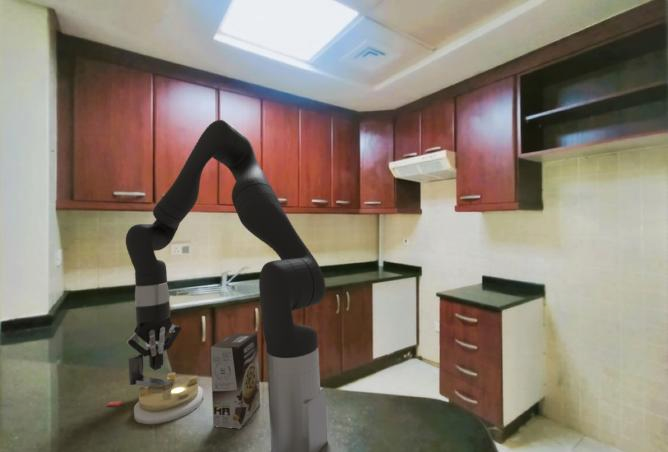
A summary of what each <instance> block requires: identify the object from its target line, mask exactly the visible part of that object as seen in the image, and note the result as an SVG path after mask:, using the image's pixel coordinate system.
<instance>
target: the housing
mask: <svg viewBox="0 0 668 452" xmlns="http://www.w3.org/2000/svg"><path fill="white" fill-rule="evenodd" d="M202 399H203V400H204V389H203V388H202V387H201V386H200V385H198V393H197V395H196V396H195V397H194V398H193V399H191V400H190V401H188V402H186V403H184V404H182V405H180V406H178V407H175V408H172V409H168V410H164V411H156V412H148V411H144V410H142V409H140V407H139V401H137V403H136V404H135V405H134V407H133V417H134V420H135V422H137V423H139V424H144V425H157V424H163V422H164V423H168V422H171V420H172V421H175V420H176V419H180V418H182V417H185V416H186V415H188V414H191V413H192V412H193V411H195V410H196V409H197V408H198V407H200V405H201V404H202V403H203V401H202ZM201 402H202V403H201ZM200 403H201V404H200ZM199 404H200V405H199ZM195 408H196V409H195ZM194 409H195V410H194ZM174 419H175V420H174ZM167 421H168V422H167Z"/></svg>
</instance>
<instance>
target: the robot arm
mask: <svg viewBox="0 0 668 452" xmlns="http://www.w3.org/2000/svg"><path fill="white" fill-rule="evenodd" d="M211 159H214V160H216V161H217V162H219V163H220V164H223V166H225V167H226V168H228V170H229V171H230V172H231V175H232V176H233V178H234V180H235V183H234V185H233V187H232V191H231V199H232V200H231V201H232V204H233V207H234V210H235V211H236V214H237V216H238V219H239V221H240V223H241V224H242V225H243V227H244V228H245V229H246V230H248V232H250V234H252V235H253V236H254V237H256V238H258V240H260V241H261V242H263V243H264V244H266V245H267V246H268V247H269V248H271V249H272V250H273V251H274V252H275V254H277V255H278V257H279V258H280V259H277V260H271V261H268V262H266V263H265V264H264V265H262V268H261V270H260V273H259V278H258V279H259V280H258V281H259V284H258V289H259V291H258V292H259V301H260V307H261V319H262V331H263V334H264V335H263V336H264V340H265V344H266V365H267V368H266V369H267V383H268V384H267V391H268V407H269V408H268V409H269V411H268V413H269V430H270V449H271V452H320V451H321V450H322V449H323V447H324V446H325V445H326V443H327V442H328V439H329V438H328V423H327V407H326V405H327V403H326V389H325V387H322V386H321V379H320V378H321V377H320V375H321V374H320V358H319V357H320V356H319V339H318V338H319V337H318V333H317V330H316V328H313V327H311V326H309V325H305V324H297V323H294V318H293V311H296V310H300V309H305V308H308V307H313V306H316V305H317V304H319V303H320V302H321V301H322V300H323V299H324V296H325V295H326V294H325V293H326V281H325V278H324V277H325V276H324V274H323V272H322V269H321V267H320V265H319V264H318V262H317V259H316V258H315V257H314V256H313V254H312V253H311V251H310V250H309V248H308V247H307V245H306V244H305V242H304V241H303V240H302V238H301V237H300V235H299V234H298V233H297V231H296V229H295V228H294V226H293V224H292V223H291V221H290V218H289V217H288V216H287V214H286V212H285V210H284V208H283V206H282V204H281V202H280V200H279V198H278V196H277V195H276V192H275V190H274V189H273V187H272V185H271V184H270V182H269V181H268V178H267V177H266V175H265V173H264V171H263V170H262V168H261V166H260V164H259V161H258V159H257V156H256V154H255V150H254V148H253V145H252V143H251V141H250V140H249V138H248V137H247V136H246V135H244V134H243V133H242V132H240V130H238V129H237V128H236V127H235V126H233V125H232V124H231V123H230V122H227V121H226V120H224V119H217V120H214V121H213V122H211V123H210V124H209V125H208V126H207V127H206V128H205V129H204V131H203V132H202V134H201V135H200V136H199V138H198V140H197V142H196V143H195V145H194V147H193V149H192V150H191V152H190V154H189V156H188V157H187V159H186V161H185V163H184V165H183V166H182V168H181V170H180V172H179V174H178V175H177V177H176V178H175V180H174V181H173V183H172V185H171V186H170V187H169V189H168V190H167V191H166V192H165V193H164V195H163V196H162V197H161V199H160V200H159V201H158V202H157V204H156V205H155V206H154V207H153V211H152V214H153V217H154V219H155V220H154V221H153V223H150V224H149V223H143V224H142V223H137V224H134V225H132V226H131V227H130V228H129V229H128V230H127V232H126V236H125V246H126V250H127V253H128V255H129V259H130V261H131V264H132V266H133V268H134V278H135V279H134V281H135V282H134V283H135V291H134V300H135V301H134V302H135V317H136V318H135V320H136V321H135V322H136V326H135V329H134V333H133V334H132V336H129V337H128V338H126V339H125V343H126V344H127V345H129V347H131V348H132V349H134V351H136V352H137V353H138V354H139V355H143V357H148V363H149V368H151V369H152V370H153V371H158V370H160V369H161V368H162V366H164V352H165V351H166V350H169V349H170V348H171V347H172V345H173V344H174V342H175V341H176V338H177V337H178V336H179V334H180V332H181V331H182V327H181V326H179V325H176V324H173V321H172V319H171V309H170V296H171V295H170V291H169V286H168V276H167V274H168V273H167V272H168V271H167V265H166V263H165V262H164V261H163V260H160V259H158V258H157V257H156V254H155V251H156V252H157V251H161V250H163V249H165V248H166V247H167V246H168V245H170V243H171V242H172V241H173V238H175V235H176V233H177V231H178V229H179V227H180V224H181V222H182V221H183V220H184V219H185V218H186V216H188V214H189V213H190V212H191V210H192V209H193V208H194V206H195V205H196V203H197V201H198V198H199V195H200V194H199V193H200V185H201V184H200V183H201V178H202V173H203V170H204V168H205V167H206V165H207V164H208V162H210V160H211ZM140 339H141V340H142V341H143V342H145V345H146V349H145V348H144V346H143V347H142V345H140Z"/></svg>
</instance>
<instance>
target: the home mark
mask: <svg viewBox="0 0 668 452" xmlns="http://www.w3.org/2000/svg"><path fill="white" fill-rule="evenodd" d="M123 404H124V401H110V402H108V403H107V404H106V405H107V407H120V406H121V405H123Z"/></svg>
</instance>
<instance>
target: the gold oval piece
mask: <svg viewBox="0 0 668 452" xmlns="http://www.w3.org/2000/svg"><path fill="white" fill-rule="evenodd" d="M127 360H128V383H129V385H130V386H135V385H137V386H140V388H139V395H138V402H139V407H140V409H142V410H144V411H148V412H156V411H164V410H168V409H172V408H175V407H178V406H180V405H182V404H184V403H186V402H188V401H190V400H191V399H193V398H194V397H195V396H196V395H197V393H198V386H199V381H198V376H197V375H193V376H190V375H179V376H176V372H175V371H174V372H169V373H167V377H166V378H164V379H160V378H154V377H149V376H145V375H144V356H143V355H142V354H136V355H132V356H130V357H128V359H127Z"/></svg>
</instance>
